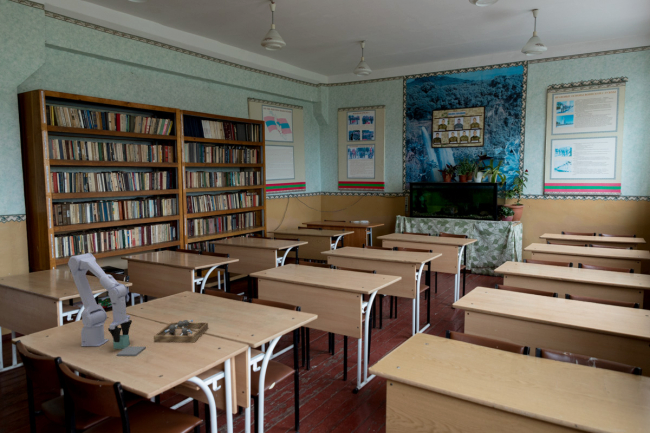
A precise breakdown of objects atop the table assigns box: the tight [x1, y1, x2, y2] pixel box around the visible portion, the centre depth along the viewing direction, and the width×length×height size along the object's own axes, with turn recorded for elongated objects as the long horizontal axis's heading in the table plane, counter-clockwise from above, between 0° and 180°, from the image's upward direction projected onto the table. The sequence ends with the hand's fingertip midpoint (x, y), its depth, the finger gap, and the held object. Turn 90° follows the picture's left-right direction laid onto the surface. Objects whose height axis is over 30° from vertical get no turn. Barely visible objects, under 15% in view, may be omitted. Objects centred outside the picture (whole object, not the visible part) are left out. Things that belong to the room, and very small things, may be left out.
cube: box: [112, 334, 131, 350], centre depth 206 cm, size 5×5×5 cm
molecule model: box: [165, 319, 194, 336], centre depth 222 cm, size 15×9×11 cm
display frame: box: [153, 321, 209, 343], centre depth 220 cm, size 20×20×3 cm
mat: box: [116, 346, 147, 357], centre depth 199 cm, size 9×9×1 cm
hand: (121, 338), depth 205 cm, fingers open, 7 cm apart
